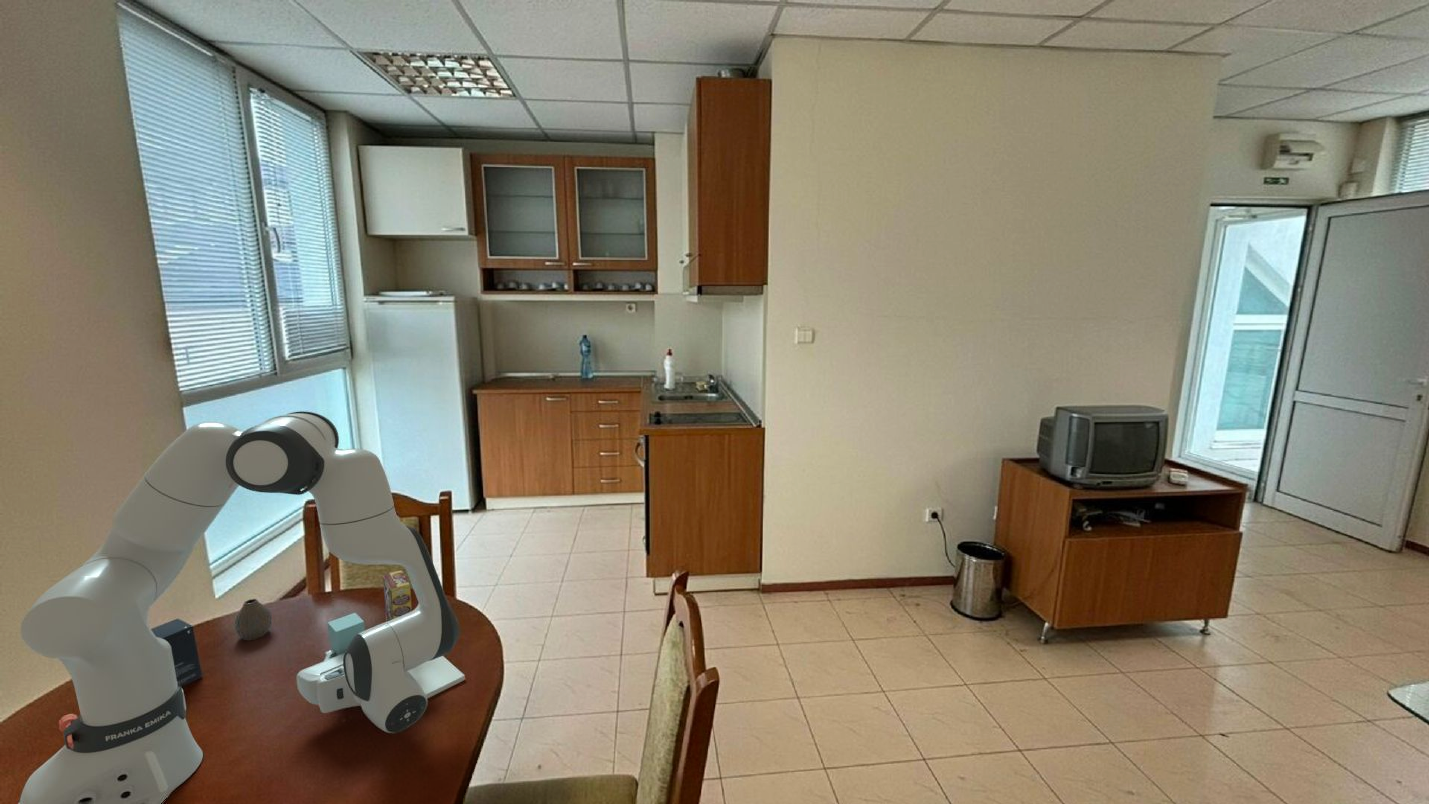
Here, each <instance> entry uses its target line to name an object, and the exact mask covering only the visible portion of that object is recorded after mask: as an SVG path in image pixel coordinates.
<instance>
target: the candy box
mask: <svg viewBox="0 0 1429 804" xmlns="http://www.w3.org/2000/svg"><path fill="white" fill-rule="evenodd" d="M382 580H383V581H382V582H383V593H384V594H383V595H384V607H385V609H384V610H385V620H386V621H385V622H388V621H390V620H392V619H395V618H397V617H400V616H402V615H404V614H407V613H409V612H411V611H413V610H412V609H413V608H412V596H411V593H412V592H411V584H410V583H411V582H409V579H408V578H407V577H406V575H405V574H404V572H403V570H396V571H392V572H389V573H386V574H383V575H382Z"/></svg>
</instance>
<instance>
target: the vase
mask: <svg viewBox="0 0 1429 804" xmlns="http://www.w3.org/2000/svg"><path fill="white" fill-rule="evenodd" d="M272 623H273V617H272V613H271V611H270V608H269V607H267V606H266V605H264V604H263V603H262V602H260V601H259V600H258V599H257V598H251V599H246V600H245V601H244V602H243V604H242V607H241V608H240V609H239V610H238V612H237V613H236V615H235V617H234V624H233V627H234V631H235V633H236V635H237V636H238V637H239V638H241V640H245V641H253V640H257V639H260V638H262V637H264V636H265V635H266V634H267V633H268V632H269V631H270V628H272V627H271V626H272Z"/></svg>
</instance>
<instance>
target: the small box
mask: <svg viewBox="0 0 1429 804" xmlns="http://www.w3.org/2000/svg"><path fill="white" fill-rule="evenodd" d="M194 627H195V626H194V625H193V624H191V623H188V622H187V621H185V620H183V619H181V618H175V619H173V620H170V621H167V622H164V623H162V624H159V625H158V626H155V627H151V630H152V632H153V633H154V635H155V636H156V637H159V638H162V639H164V640H166V641H167V642H168V643H169V644H170V646H171V650H172V655H173V661H174V667H175V673H176V679H177V682H179V683H180V685H181V688H182V687H185V686H186V685H188V684H190V683H193V682H195V681H197V680H199V679H202V678H203V676H204V674H203V672H202V671H203V670H202V667H201V662H200V657H199V651H198V646H197V640H196V638H195V637H196V636H195V630H194V629H195V628H194Z"/></svg>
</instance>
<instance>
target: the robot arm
mask: <svg viewBox="0 0 1429 804" xmlns="http://www.w3.org/2000/svg"><path fill="white" fill-rule="evenodd" d="M339 442H340V437H339V433H338V430H337V427H336V425H334V423H333V422H332V420H330V419H329V418H327V417H326V416H324V415H321V414H319V413H317V412H312V411H293V412H289V413H287V414H282V415H278V416H274V417H272V418H269V419H267V420H265V421H263V422H261V423H259V424H257V425H254V426H252V427H249V428H247V429H245V430H243V429H239V428H237V427H236V426H235V427H234V426H232V425H229V424H226V423H221V422H217V421H216V422H215V421H205V422H204V421H203V422H199V423H197V424H194V425H192V426H190V427H189V428H187V429H186V430H185V431H184V432H183V433H182V434H180V435H179V436H178V437H177V438H176V439H175V440H174V441H172V442H171V443H170V444H169V445H168V446H167V448H165V449H164V451H162V453H161V454H160V455H159V456H158V457H157V458H156V459H155V461H153V463H152V464H151V465H150V466H149V468H148V469H147V470H146V472H145V473H144V475H143V476H142V477H141V479H139V481H138V482H137V484H136V485H135V486H134V488H133V489H132V490H131V492H130V493H129V494H128V496H127V497H126V498H125V500H124V501H123V502H122V503H121V506H120V507H119V508H118V509H117V511H116V512H115V513H114V515H113V517H112V525H111V527H110V530H109V532H108V534H107V536H106V537H105V539H104V541H103V543H102V544H101V545H100V547H99V548H98V550H97V551H95V553H94V554H92V556H91V557H90V558H88V559H87V560H86V561H85V562H84V563H83V564H82V565H80V566H79V567H77V568H76V569H75V570H74V571H72V572H71V573H69V574H68V575H66V576H65V577H63V578H62V579H61V580H59V581H58V582H57V583H55V584H53V585H52V586H51V587H49V588H48V589H47V590H46V591H45V590H44V592H43V593H42V594H41V596H40V597H39V598H38V599H37V600H36V602H35V603H34V604H33V605H32V606H31V607H30V609H29V610H28V611H27V613H26V614H25V616H24V617H23V619H22V621H21V624H20V636H21V639H22V641H23V643H24V644H25V645H26V646H27V647H28V649H30V651H33V652H35V654H37V655H40V656H43V657H46V658H51V659H57V660H59V662H60V663H61V664H62V665H63V666H64V668H65V669H66V670H67V672H68V674H69V676H70V679H71V681H72V683H73V687H74V691H75V695H76V700H77V703H78V705H77V706H78V708H79V713H80V715H79V716H78V715H77V714H74V713H68V714H66V715H63V716H62V717H60V719H59V721H58V726H59V727H58V729H59V731H60V732H63V739H64V745H63V747H61V748H60V749H59V750H58V751H57V752H56V753H55V754H53V755H52V756H51V757H50V758H49V759H47V761H45V762H44V763H43V764H41V766H40V767H38V768H37V769H36V770H35V771H34V772H33V773H32V774H31V775H30V776H29V778H28V779H27V781H26V782H25V785H24V787H23V789H22V793H21V794H20V799H19V802H18V803H17V804H161V803H162V802H163V801H164V800H165V799H166V798H167V799H168V797H169V796H170V794H172V792H173V791H174V790H175V789H176V788H178V787H179V786H180V785H181V784H183V783H184V782H186V780H188V779H189V778H190V777H191V776H192V774H193V773H194V772H196V770H197V769H198V768H199V766H200V764H201V763H202V761H203V757H204V756H203V755H204V754H203V753H204V752H203V750H202V749H201V747H200V746H199V745H198V743H197V741H196V740H195V738H194V737H193V734H192V732H191V730H190V728H189V724H188V721H187V720H186V715H187V704H186V698H185V694H184V690H183V688H182V687H181V685H180V683H179V682H177V679H176V673H175V667H174V661H173V655H172V650H171V646H170V644H169V643H168V642H167V641H166V640H164V639H162V638H159V637H156V636H155V635H154V633H153V632H152V630H151V629H152V627H150V624H149V619H148V618H149V611H150V608H151V607H152V606H153V604H155V603H156V602H157V601H158V600H159V599H160V598H161V597H162V596H163V595H164V594H165V593H166V592H167V591H168V590H169V589H170V588H171V586H172V584H173V583H174V582H175V580H176V579H177V577H178V575H179V574H180V573H181V571H182V569H183V568H184V566H185V564H186V563H187V561H188V560H189V559H190V556H191V554H192V553H193V551H194V549H195V547H196V546H197V544H198V542H199V541H200V540H201V538H202V537H203V536H204V534H205V533H206V532H207V530H208V529H209V527H210V526H211V525H212V523H213V522H214V520H215V519H216V518H217V516H218V515H219V514H220V512H221V511H222V509H223V508H224V507H225V506H226V504H227V503H228V501H229V500H230V499H231V497H232V496H233V494H234V493H235V491H236V490H237V489H238V488H239V487H242V488H243V489H247V490H249V491H252V492H257V493H264V494H265V493H268V494H286V495H287V494H288V495H295V496H296V495H297V496H300V495H304V494H306V493H310V494H311V496H312V497H313V499H314V502H315V506H316V510H317V516H318V521H319V527H320V532H321V535H322V537H323V538H322V539H323V541H324V544H325V547H326V548H327V550H328V551H329V552H330V554H332V555H333V556H334V557H336V558H337V559H339V560H342V561H345V562H346V563H351V564H357V565H363V566H364V565H366V566H370V565H371V566H374V565H393V566H394V565H395V566H400V567H402V568H404V570H405V571H406V573H407V576H408V580H409V581H410V582H409V583H411V584H410V585H411V586H412V587H411V588H412V589H413V592H414V594H415V597H416V599H417V601H418V602H417V603H418V604H417V606H416V607H415V608H414V609H413V610H412V611H411V612H409V613H407V614H404V615H402V616H400V617H397V618H395V619H392V620H390V621H388V622H386V621H385V622H382V623H379V624H377V625H375V626H373V627H371V628H368V629H365V631H363V632H361V633H359V634H356V635H355V636H354V638H353V639H352V640H351V642H350V644H349V646H348V648H347V650H346V652H345V653H343V654H341V655H338V656H336V651H334V649H333V650H331V649H330V650H327V651H325V652H324V656H325V658H324V659H323V661H321V662H319V663H318V662H317V663H315V664H313V665H312V666H311V665H310V666H309V667H305V668H304V669H301V670H300V671H299V672H297V674H296V685H297V690H298V691H299V693H300V695H301V696H302V697H303V698H304V699H305V700H306V701H307V702H309V703H310V704H312V705H317V706H318V707H319V709H320V712H321V713H322V714H327V713H331V712H335V711H339V710H343V709H346V708H351V707H359V706H360V707H361V710H362V711H363V713H364V715H365V716H366V717H367V718H368V720H370V721H371V723H373V724H374V726H376V727H377V728H379V729H380V730H382V731H384V732H385V733H390V734H397V733H400V732H403V731H405V730H407V729H408V728H410V727H412V726H413V725H415V724H416V723H417V722H418V721H419V720H420V719H421V718H422V716H423V715H424V713H425V712H426V709H427V707H428V698H427V697H426V695H425V693H424V691H423V689H422V688H421V686H420V685H419V683H418V682H417V681H416V679H415V678H414V677H413V676H412V675H411V674H410V673H409V672H408V671H409V670H411V669H413V668H415V667H417V666H419V665H421V664H423V663H425V662H427V661H431V660H433V659H436V658H439V657H441V656H444V657H445V655H448V654H450V653H451V652H452V650H453V648H454V646H455V645H456V644H457V641H458V639H459V637H460V635H461V628H460V624H459V621H458V619H457V616H456V614H455V612H454V610H453V608H452V606H451V605H450V603H449V602H450V601H449V600H448V597H447V595H446V593H445V590H444V588H443V586H442V583H441V580H440V577H439V575H438V572H437V569H436V568H435V567H436V566H435V564H434V561H433V560H432V556H431V555H430V552H429V550H428V547H427V545H426V543H425V540H424V539H423V537H422V536H421V534H420V532H419V531H418V530H417V529H416V528H415V527H413V526H408V525H405V524H404V523H402V521H401V520H400V518H399V516H398V514H397V513H396V510H395V509H396V508H395V505H394V499H393V494H392V490H391V487H390V484H389V481H388V476H387V474H386V472H385V469H384V466H383V465H382V462H381V459H380V458H379V457H378V456H377V454H375V453H373V452H372V451H370V450H366V449H363V448H347V449H342V448H339V444H340V443H339ZM167 799H166V800H167ZM166 800H165V801H166ZM165 801H164V802H165ZM164 802H163V803H164ZM163 803H162V804H163Z"/></svg>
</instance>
